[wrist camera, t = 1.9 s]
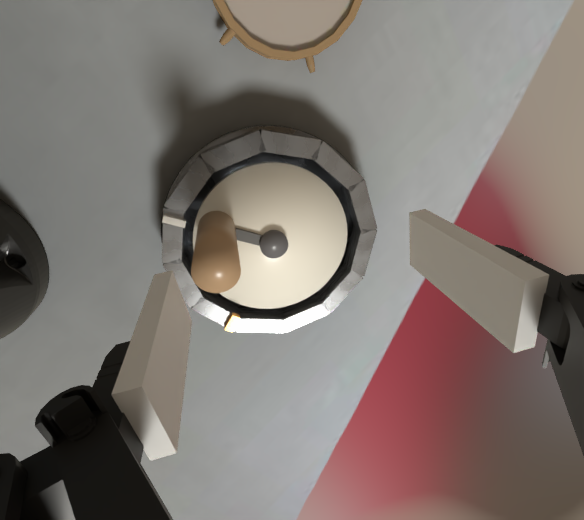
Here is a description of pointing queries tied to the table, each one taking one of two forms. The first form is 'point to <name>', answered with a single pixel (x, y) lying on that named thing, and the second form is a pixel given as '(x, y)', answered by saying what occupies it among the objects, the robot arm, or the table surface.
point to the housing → (245, 151)
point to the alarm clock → (286, 25)
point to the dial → (268, 236)
